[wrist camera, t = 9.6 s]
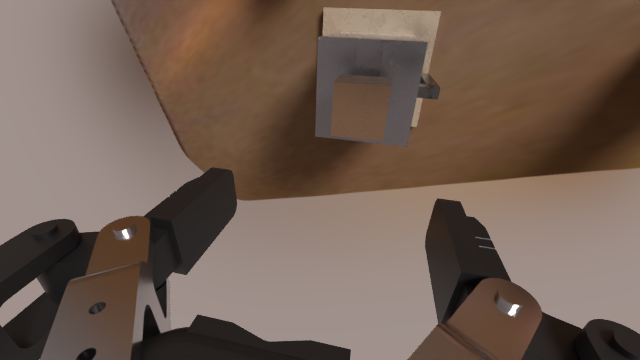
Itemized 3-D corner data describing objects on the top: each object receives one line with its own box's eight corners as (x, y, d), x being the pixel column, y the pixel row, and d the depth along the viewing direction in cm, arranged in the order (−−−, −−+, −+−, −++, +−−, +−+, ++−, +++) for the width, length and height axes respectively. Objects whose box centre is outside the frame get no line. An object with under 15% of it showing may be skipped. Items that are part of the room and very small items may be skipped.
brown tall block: (402, 47, 38) (414, 67, 20) (393, 100, 42) (397, 158, 24) (349, 44, 40) (316, 61, 21) (345, 96, 43) (314, 148, 25)
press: (439, 11, 39) (474, 3, 23) (415, 124, 47) (430, 175, 31) (325, 8, 42) (286, -3, 26) (321, 114, 49) (289, 157, 34)
